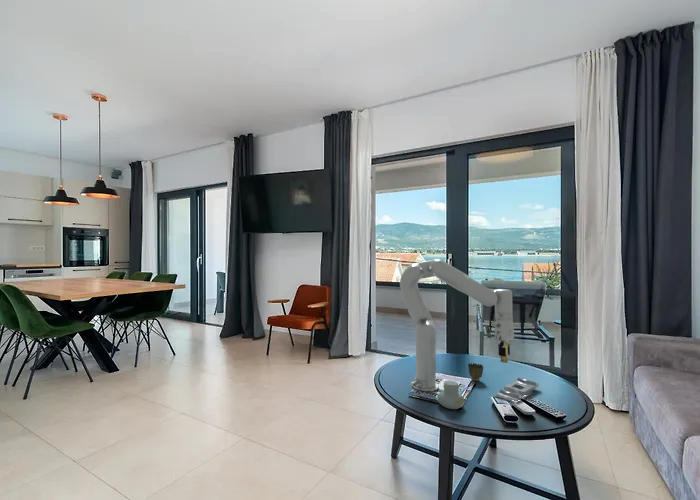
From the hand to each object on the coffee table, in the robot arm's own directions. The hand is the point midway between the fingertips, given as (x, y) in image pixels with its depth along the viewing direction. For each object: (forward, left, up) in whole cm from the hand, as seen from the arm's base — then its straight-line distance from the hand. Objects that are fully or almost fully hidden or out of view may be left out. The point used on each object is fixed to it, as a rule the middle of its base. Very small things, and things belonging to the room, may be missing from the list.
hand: (504, 354), depth 163 cm
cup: (+4, +17, -18) cm, 25 cm away
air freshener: (-32, +8, -18) cm, 37 cm away
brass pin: (0, 0, -3) cm, 3 cm away
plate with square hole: (+5, -4, -18) cm, 19 cm away
